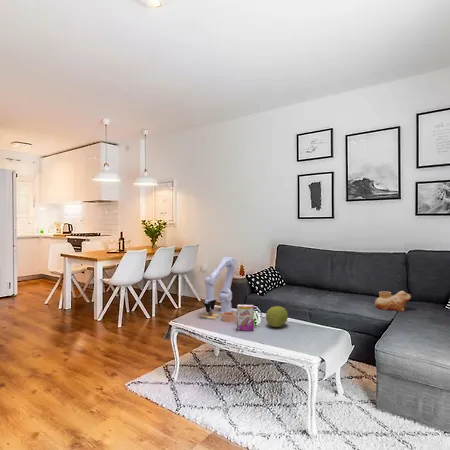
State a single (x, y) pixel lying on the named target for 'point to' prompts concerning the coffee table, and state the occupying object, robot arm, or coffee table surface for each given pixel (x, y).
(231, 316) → the terracotta bowl
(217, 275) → the robot arm
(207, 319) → the grey flat square slab
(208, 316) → the oak lid
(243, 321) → the candy bar box
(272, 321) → the fruit
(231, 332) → the coffee table surface
